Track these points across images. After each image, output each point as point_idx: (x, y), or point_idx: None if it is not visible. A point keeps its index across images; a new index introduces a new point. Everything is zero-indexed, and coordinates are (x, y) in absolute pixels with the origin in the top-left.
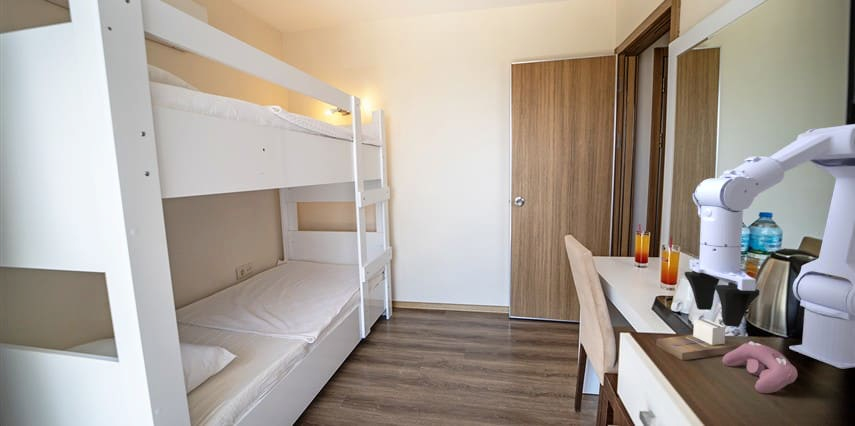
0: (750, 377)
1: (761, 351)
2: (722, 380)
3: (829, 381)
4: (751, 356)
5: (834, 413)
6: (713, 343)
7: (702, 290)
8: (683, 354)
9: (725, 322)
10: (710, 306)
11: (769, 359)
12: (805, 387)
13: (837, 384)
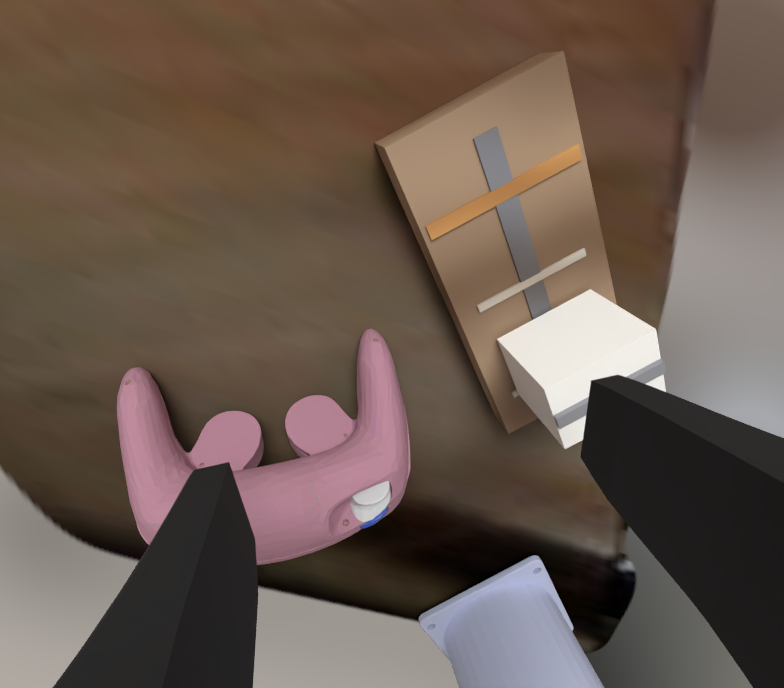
0: (278, 386)
1: (260, 506)
2: (198, 265)
3: (331, 575)
4: (333, 448)
5: (88, 528)
6: (502, 349)
7: (765, 554)
8: (384, 154)
9: (186, 489)
10: (600, 475)
11: None
12: None
13: (317, 584)
